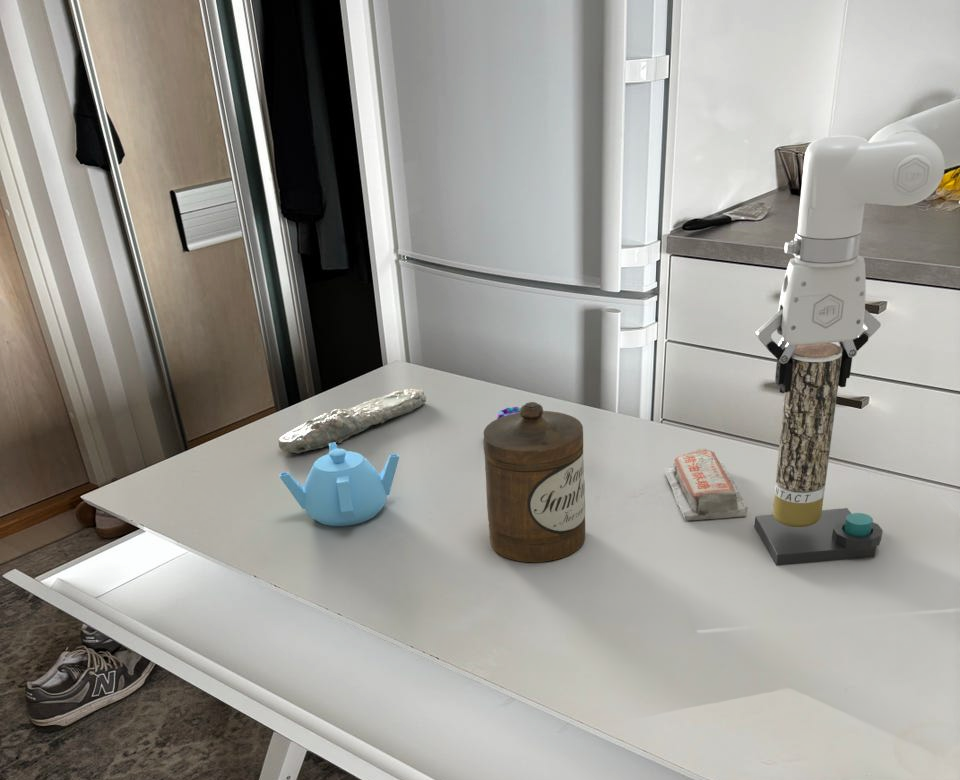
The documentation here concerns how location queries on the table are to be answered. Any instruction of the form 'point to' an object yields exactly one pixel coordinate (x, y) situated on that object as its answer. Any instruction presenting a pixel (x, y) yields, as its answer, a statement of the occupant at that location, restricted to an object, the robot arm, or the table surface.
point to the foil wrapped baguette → (350, 421)
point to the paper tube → (806, 434)
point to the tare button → (858, 524)
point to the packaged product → (704, 487)
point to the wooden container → (535, 484)
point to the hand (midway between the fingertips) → (811, 385)
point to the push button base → (816, 539)
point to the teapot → (343, 487)
